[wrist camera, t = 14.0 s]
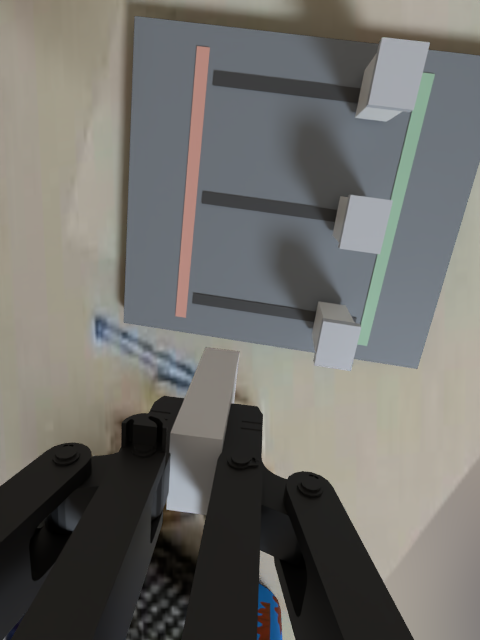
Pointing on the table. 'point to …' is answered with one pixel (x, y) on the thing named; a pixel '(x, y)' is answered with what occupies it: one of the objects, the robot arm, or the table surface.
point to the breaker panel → (289, 187)
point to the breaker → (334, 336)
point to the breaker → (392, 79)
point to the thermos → (268, 616)
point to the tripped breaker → (361, 223)
